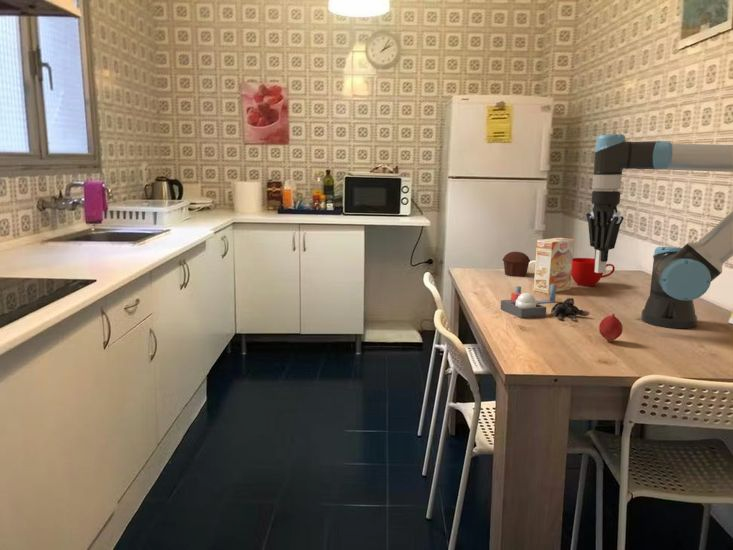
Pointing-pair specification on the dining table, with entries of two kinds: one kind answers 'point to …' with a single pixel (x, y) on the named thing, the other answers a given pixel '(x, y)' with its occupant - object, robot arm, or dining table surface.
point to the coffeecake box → (553, 264)
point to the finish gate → (552, 300)
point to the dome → (526, 300)
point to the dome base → (522, 312)
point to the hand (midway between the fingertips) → (600, 272)
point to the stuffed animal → (567, 310)
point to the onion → (610, 328)
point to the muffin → (516, 264)
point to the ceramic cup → (586, 272)
